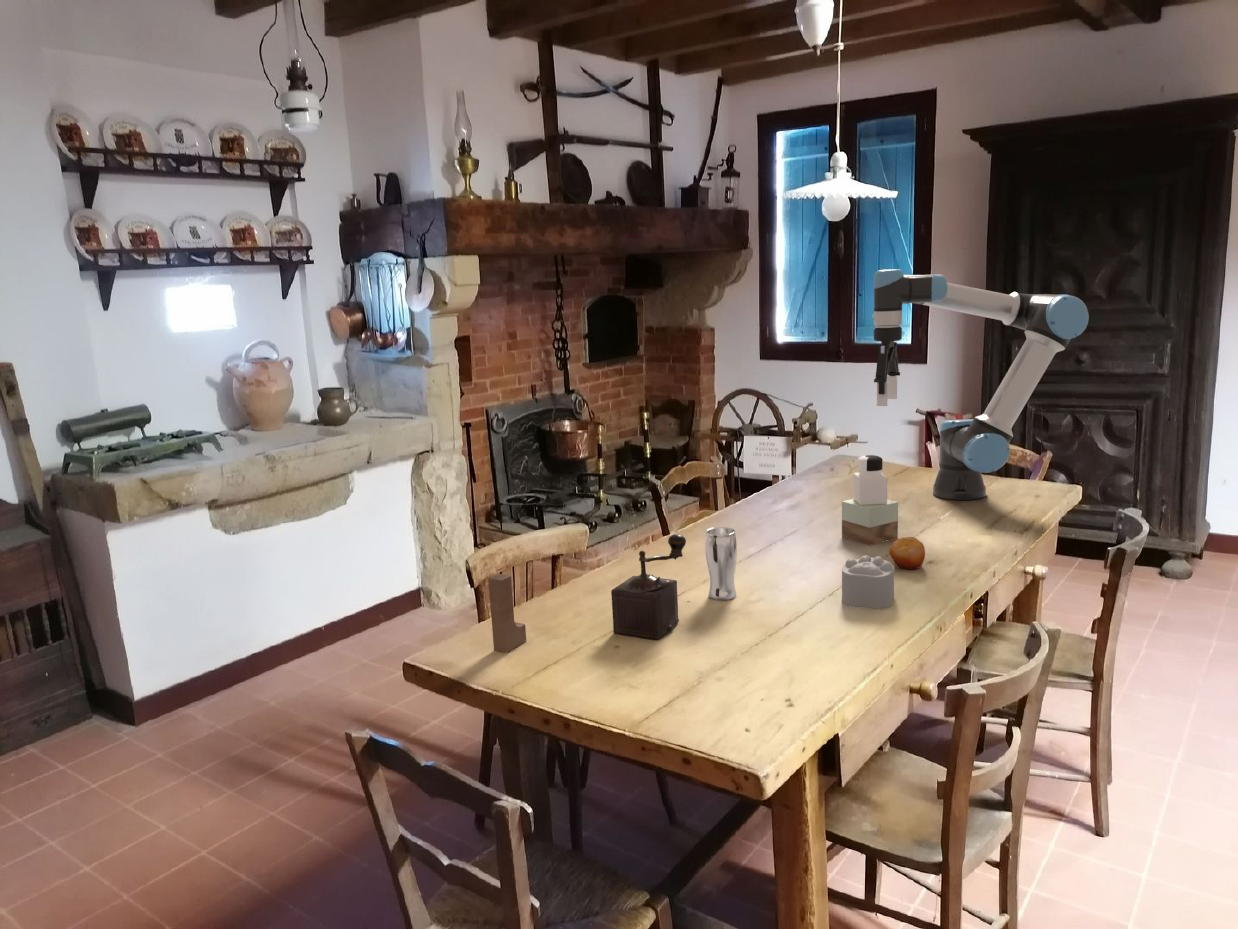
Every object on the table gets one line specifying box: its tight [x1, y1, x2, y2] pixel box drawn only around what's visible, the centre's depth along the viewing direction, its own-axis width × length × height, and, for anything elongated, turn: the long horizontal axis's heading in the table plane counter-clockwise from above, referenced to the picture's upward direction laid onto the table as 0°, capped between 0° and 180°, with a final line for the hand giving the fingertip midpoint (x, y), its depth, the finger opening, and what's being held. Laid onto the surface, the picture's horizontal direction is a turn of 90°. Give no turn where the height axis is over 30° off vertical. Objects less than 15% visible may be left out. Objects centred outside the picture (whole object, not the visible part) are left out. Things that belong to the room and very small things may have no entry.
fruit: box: [888, 536, 926, 570], centre depth 217 cm, size 8×8×8 cm
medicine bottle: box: [852, 454, 889, 505], centre depth 238 cm, size 7×7×12 cm
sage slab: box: [841, 498, 899, 528], centre depth 239 cm, size 10×10×5 cm
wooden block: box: [487, 573, 527, 654], centre depth 181 cm, size 7×3×15 cm, turn 149°
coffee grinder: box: [610, 534, 687, 641], centre depth 188 cm, size 16×11×18 cm
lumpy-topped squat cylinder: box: [841, 555, 895, 611], centre depth 197 cm, size 10×13×9 cm
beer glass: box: [704, 526, 738, 601], centre depth 203 cm, size 7×7×15 cm
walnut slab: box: [841, 519, 899, 546], centre depth 241 cm, size 10×10×5 cm
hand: (887, 402), depth 259 cm, fingers open, 13 cm apart
